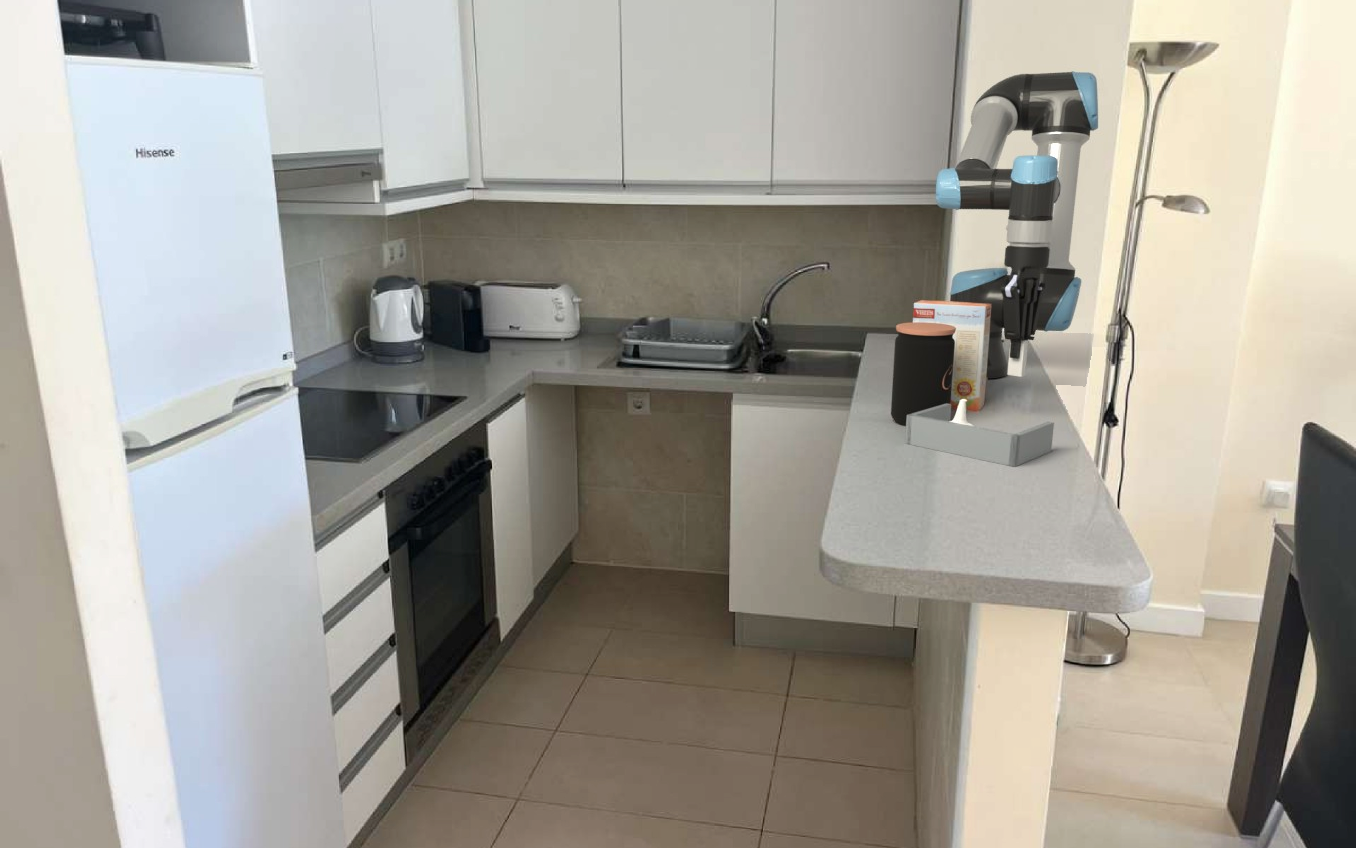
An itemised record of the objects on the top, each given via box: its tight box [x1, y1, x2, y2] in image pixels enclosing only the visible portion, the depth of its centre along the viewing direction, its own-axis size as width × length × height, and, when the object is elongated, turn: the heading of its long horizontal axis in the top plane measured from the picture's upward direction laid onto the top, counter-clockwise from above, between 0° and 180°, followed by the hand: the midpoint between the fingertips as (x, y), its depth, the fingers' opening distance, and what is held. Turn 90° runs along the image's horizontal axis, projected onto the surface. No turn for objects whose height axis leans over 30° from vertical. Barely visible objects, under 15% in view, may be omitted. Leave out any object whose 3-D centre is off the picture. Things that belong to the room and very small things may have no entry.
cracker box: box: [912, 299, 991, 412], centre depth 197 cm, size 14×6×21 cm, turn 62°
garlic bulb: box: [949, 399, 974, 426], centre depth 171 cm, size 6×6×8 cm
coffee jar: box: [890, 321, 956, 427], centre depth 185 cm, size 11×11×18 cm
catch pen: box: [904, 403, 1055, 468], centre depth 169 cm, size 13×20×5 cm, turn 45°
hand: (1016, 375), depth 184 cm, fingers closed
